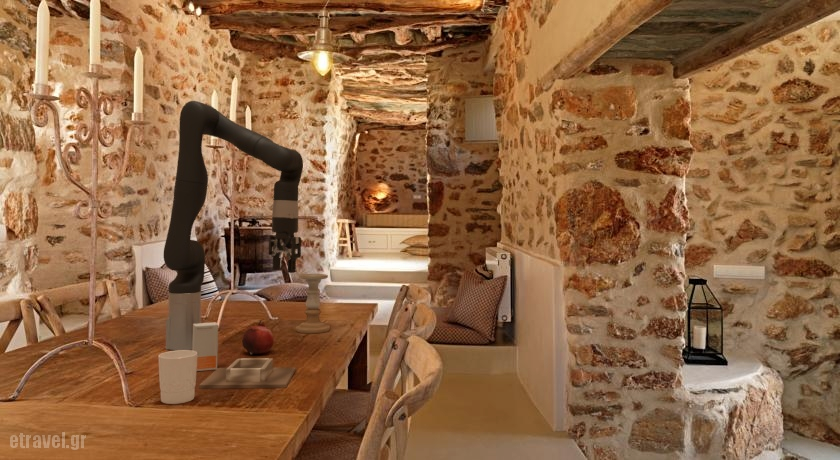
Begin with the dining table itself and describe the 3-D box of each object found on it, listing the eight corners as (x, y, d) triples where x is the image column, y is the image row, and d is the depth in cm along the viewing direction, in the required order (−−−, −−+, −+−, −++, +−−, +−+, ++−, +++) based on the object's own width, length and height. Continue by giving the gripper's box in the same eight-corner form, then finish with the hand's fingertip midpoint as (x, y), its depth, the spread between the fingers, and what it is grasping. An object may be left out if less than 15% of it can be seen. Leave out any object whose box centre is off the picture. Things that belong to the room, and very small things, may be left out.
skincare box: (193, 372, 146) (193, 326, 146) (191, 368, 150) (192, 323, 150) (218, 369, 149) (218, 324, 149) (215, 366, 153) (216, 321, 153)
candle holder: (326, 334, 199) (327, 276, 198) (291, 333, 199) (292, 276, 199) (332, 327, 211) (333, 273, 211) (299, 327, 211) (300, 273, 211)
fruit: (240, 357, 162) (240, 323, 162) (243, 350, 172) (243, 317, 172) (273, 356, 164) (273, 322, 164) (274, 349, 174) (274, 317, 174)
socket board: (198, 388, 132) (198, 372, 132) (218, 370, 148) (218, 356, 148) (285, 387, 133) (285, 371, 133) (295, 370, 149) (295, 355, 149)
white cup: (172, 407, 118) (173, 360, 118) (150, 401, 122) (150, 355, 122) (204, 398, 125) (205, 353, 125) (182, 392, 129) (182, 348, 129)
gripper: (261, 215, 168) (260, 269, 169) (286, 216, 158) (285, 274, 158) (284, 216, 174) (282, 268, 174) (309, 217, 163) (308, 273, 164)
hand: (283, 271), depth 166 cm, fingers open, 8 cm apart
